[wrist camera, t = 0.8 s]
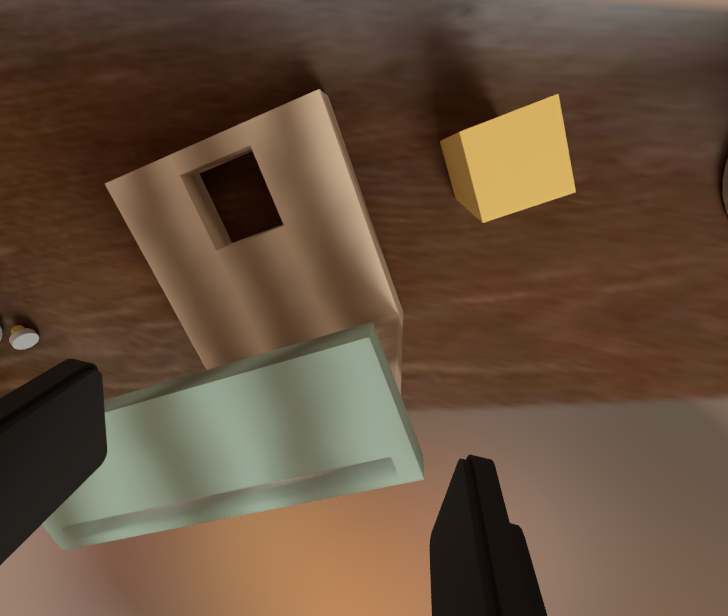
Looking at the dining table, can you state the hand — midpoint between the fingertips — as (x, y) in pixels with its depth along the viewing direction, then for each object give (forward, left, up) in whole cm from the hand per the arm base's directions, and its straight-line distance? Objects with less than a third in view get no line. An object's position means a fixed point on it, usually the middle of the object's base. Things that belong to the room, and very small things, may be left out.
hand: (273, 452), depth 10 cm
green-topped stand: (+8, -2, -25) cm, 26 cm away
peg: (-10, -4, -25) cm, 27 cm away
